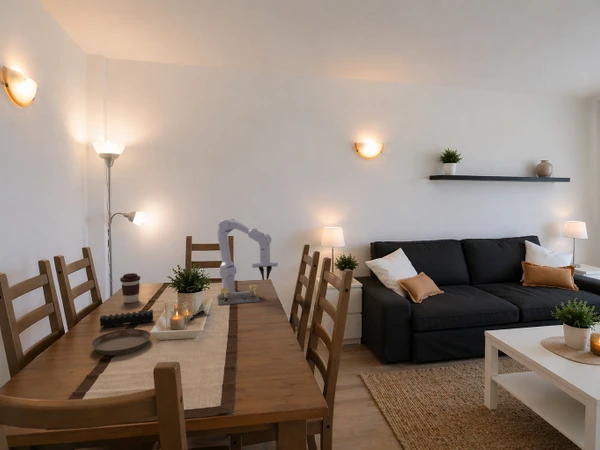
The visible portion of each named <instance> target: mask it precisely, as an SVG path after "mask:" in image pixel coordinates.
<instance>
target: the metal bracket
mask: <svg viewBox="0 0 600 450" xmlns="http://www.w3.org/2000/svg"><path fill="white" fill-rule="evenodd" d="M207 307H208V306H207V305H205V304H203V303H202V302H201V305H200V307H199V310H198V311H197V312H196V313H195V314H194V316H196V315H197V314H198V313H200V312H203V311H202V310H204V311H205V309H206V308H207Z"/></svg>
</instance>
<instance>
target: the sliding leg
mask: <svg viewBox="0 0 600 450" xmlns="http://www.w3.org/2000/svg"><path fill="white" fill-rule="evenodd" d="M248 286H249V288H248V289H249V290H248V291H250V296H254V298H255V297H256V296H258V285H257V284H249V285H248Z"/></svg>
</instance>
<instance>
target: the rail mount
mask: <svg viewBox="0 0 600 450" xmlns="http://www.w3.org/2000/svg"><path fill="white" fill-rule="evenodd" d="M153 320H154V309H149V310H147V309H146V310H143V311H141V310H138V312H136V311H132V313H131V312H126V313H124V312H121V313H120V314H119V313H115V314H114V315H113V314H112V313H111V314H108V315H106V314H105V315H100V318H99V325H100V327H102V329H103V330H107V329H114V328H122V327H123V324H129V323H130V324H131V323H133V326H137V325H138V326H139V325H145V324H152V321H153Z"/></svg>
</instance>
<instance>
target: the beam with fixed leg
mask: <svg viewBox="0 0 600 450" xmlns="http://www.w3.org/2000/svg"><path fill="white" fill-rule="evenodd" d="M217 296H218V299H224V300H225V301H226V298H236V297H249V296H250V291H249V290H247V291H235V292H232V293H229V289H228V287H224V288H222V287H220V293H219V292H218V294H217Z"/></svg>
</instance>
